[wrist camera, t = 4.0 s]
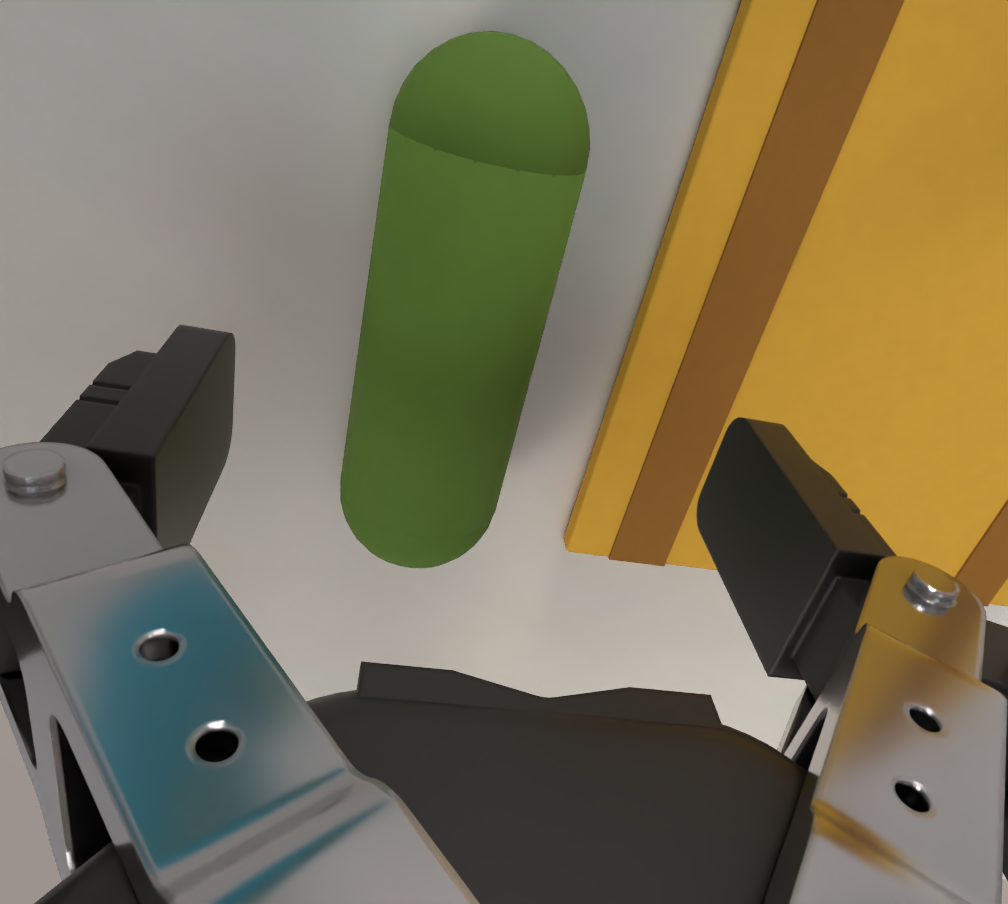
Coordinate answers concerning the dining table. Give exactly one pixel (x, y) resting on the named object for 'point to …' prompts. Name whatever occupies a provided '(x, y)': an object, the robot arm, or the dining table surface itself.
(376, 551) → the pickle
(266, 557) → the dining table surface
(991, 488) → the towel
